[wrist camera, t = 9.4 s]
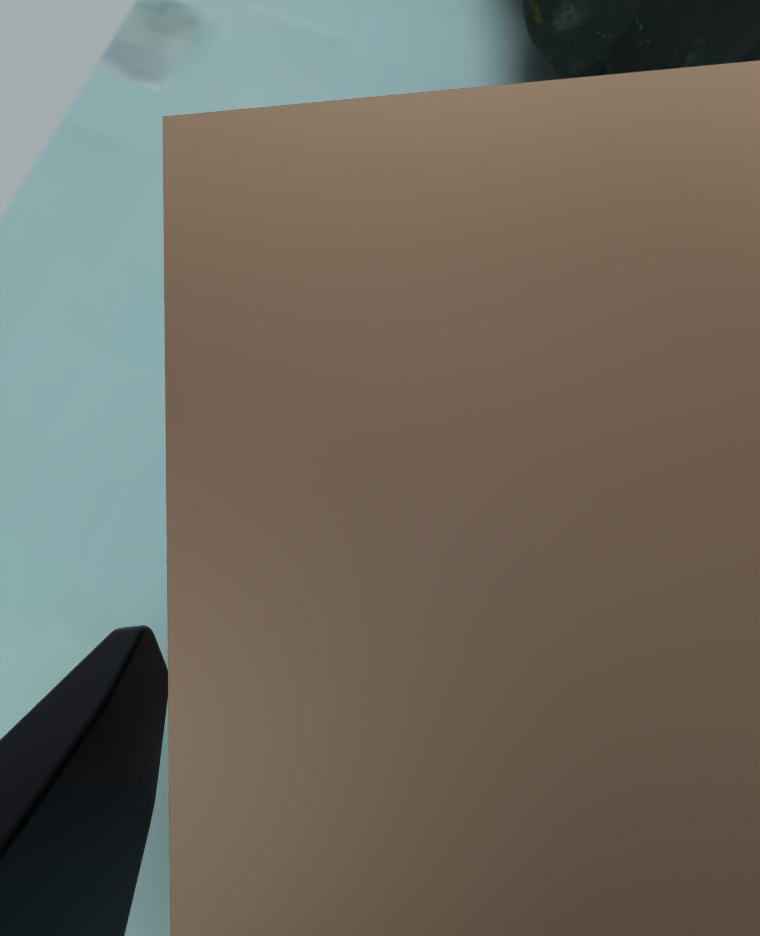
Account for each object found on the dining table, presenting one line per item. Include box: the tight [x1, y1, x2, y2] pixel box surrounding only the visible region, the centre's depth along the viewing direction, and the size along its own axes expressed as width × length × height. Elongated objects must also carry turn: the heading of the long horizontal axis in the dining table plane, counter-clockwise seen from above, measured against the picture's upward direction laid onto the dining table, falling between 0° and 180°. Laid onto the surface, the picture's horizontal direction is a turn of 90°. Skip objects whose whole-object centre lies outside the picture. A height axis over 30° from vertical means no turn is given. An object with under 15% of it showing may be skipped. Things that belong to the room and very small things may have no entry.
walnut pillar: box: [163, 60, 760, 936], centre depth 10 cm, size 5×5×13 cm
